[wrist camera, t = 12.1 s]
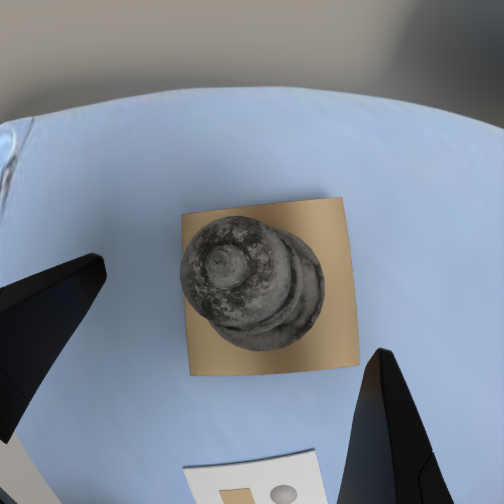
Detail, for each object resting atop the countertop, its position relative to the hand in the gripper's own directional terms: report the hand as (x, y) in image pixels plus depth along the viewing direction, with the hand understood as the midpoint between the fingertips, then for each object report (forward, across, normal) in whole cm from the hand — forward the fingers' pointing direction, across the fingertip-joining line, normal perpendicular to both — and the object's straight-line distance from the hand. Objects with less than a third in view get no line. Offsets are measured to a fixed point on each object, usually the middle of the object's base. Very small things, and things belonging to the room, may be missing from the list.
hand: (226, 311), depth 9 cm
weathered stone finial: (+7, 0, +6) cm, 9 cm away
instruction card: (-2, -4, +19) cm, 19 cm away
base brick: (+10, 0, +8) cm, 12 cm away
